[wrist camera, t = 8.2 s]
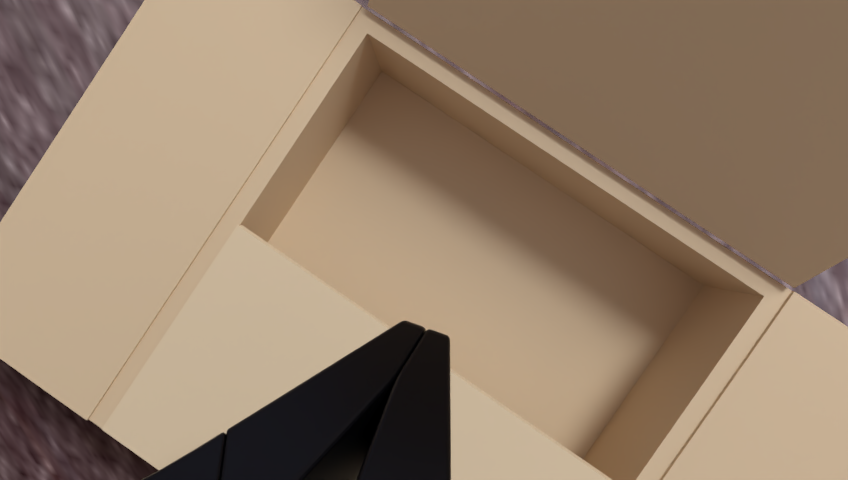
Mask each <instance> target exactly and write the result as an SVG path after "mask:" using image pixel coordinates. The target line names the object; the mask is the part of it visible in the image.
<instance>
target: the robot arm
mask: <svg viewBox="0 0 848 480" xmlns="http://www.w3.org/2000/svg"><path fill="white" fill-rule="evenodd" d="M142 480H451V399H450V338H449V336H448V335H445V334H443V333H440V332H437V331H434V330H431V329H428V330H426V329H425V328H424V327H423V326H420V325H417V324H415V323H412V322H409V321H401V322H399V323H398V324H396V325H395V326H393V327H391V328H390V329H388V330H386V331H385V332H383V333H382V334H380V335H378V336H377V337H375V338H374V339H372V340H370V341H369V342H367V343H366V344H364V345H362V346H361V347H359V348H358V349H356V350H354V351H353V352H351V353H349V354H348V355H346V356H345V357H343V358H341V359H340V360H338V361H337V362H335V363H333V364H332V365H330V366H329V367H327V368H325V369H324V370H322V371H321V372H319V373H317V374H316V375H314V376H312V377H311V378H309V379H308V380H306V381H304V382H303V383H301V384H300V385H298V386H296V387H295V388H293V389H292V390H290V391H288V392H287V393H285V394H284V395H282V396H280V397H279V398H277V399H276V400H274V401H272V402H271V403H269V404H267V405H266V406H264V407H263V408H261V409H259V410H258V411H256V412H255V413H253V414H251V415H250V416H248V417H247V418H245V419H243V420H242V421H240V422H239V423H237V424H235V425H234V426H232V427H230V428H229V429H228V430H227V433H224V432H222V433H220V434H219V435H217V436H216V437H214V438H212V439H211V440H209V441H208V442H206V443H204V444H203V445H201V446H200V447H198V448H196V449H194V450H193V451H191V452H189V453H188V454H186V455H184V456H183V457H181V458H179V459H177V460H176V461H174V462H172V463H171V464H169V465H167V466H166V467H164V468H162V469H160V470H159V471H157V472H155V473H153V474H151V475H149V476H147V477H145V478H143V479H142Z"/></svg>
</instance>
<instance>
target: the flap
mask: <svg viewBox="0 0 848 480" xmlns="http://www.w3.org/2000/svg"><path fill="white" fill-rule="evenodd" d="M368 7H370V8H371V9H373V10H374V11H376V12H377V13H379V14H380V15H382V16H383V17H385V18H386V19H388V20H389V21H391V22H392V23H394V24H395V25H397V26H398V27H400V28H402V29H403V30H405V31H406V32H408V33H409V34H411V35H412V36H414V37H415V38H417V39H418V40H420V41H421V42H423V43H424V44H426V45H427V46H429V47H430V48H432V49H433V50H435V51H436V52H438V53H439V54H441V55H442V56H444V57H445V58H447V59H448V60H450V61H451V62H453V63H454V64H456V65H457V66H459V67H461V68H462V69H464V70H465V71H467V72H468V73H470V74H471V75H473V76H474V77H476V78H477V79H479V80H480V81H482V82H483V83H485V84H486V85H488V86H489V87H491V88H492V89H494V90H495V91H497V92H498V93H500V94H501V95H503V96H504V97H506V98H507V99H509V100H510V101H512V102H513V103H515V104H516V105H518V106H520V107H521V108H523V109H524V110H526V111H527V112H529V113H530V114H532V115H533V116H535V117H536V118H538V119H539V120H541V121H542V122H544V123H545V124H547V125H548V126H550V127H551V128H553V129H554V130H556V131H557V132H559V133H560V134H562V135H563V136H565V137H566V138H568V139H569V140H571V141H572V142H574V143H575V144H577V145H579V146H580V147H582V148H583V149H585V150H586V151H588V152H589V153H591V154H592V155H594V156H595V157H597V158H598V159H600V160H601V161H603V162H604V163H606V164H607V165H609V166H610V167H612V168H613V169H615V170H616V171H618V172H619V173H621V174H622V175H624V176H625V177H627V178H628V179H630V180H631V181H633V182H635V183H636V184H638V185H639V186H641V187H642V188H644V189H645V190H647V191H648V192H650V193H651V194H653V195H654V196H656V197H657V198H659V199H660V200H662V201H663V202H665V203H666V204H668V205H669V206H671V207H672V208H674V209H675V210H677V211H678V212H680V213H681V214H683V215H684V216H686V217H687V218H689V219H690V220H692V221H694V222H695V223H697V224H698V225H700V226H701V227H703V228H704V229H706V230H707V231H709V232H710V233H712V234H713V235H715V236H716V237H718V238H719V239H721V240H722V241H724V242H725V243H727V244H728V245H730V246H731V247H733V248H734V249H736V250H737V251H739V252H740V253H742V254H743V255H745V256H746V257H748V258H749V259H751V260H753V261H754V262H756V263H757V264H759V265H760V266H762V267H763V268H765V269H766V270H768V271H769V272H771V273H772V274H774V275H775V276H777V277H778V278H780V279H781V280H783V281H784V282H786V283H787V284H789V285H790V286H792V287H793V288H795V287H797V286H799V285H800V284H802V283H804V282H806V281H807V280H809V279H811V278H813V277H814V276H816V275H818V274H820V273H822V272H823V271H825V270H827V269H829V268H830V267H832V266H834V265H836V264H837V263H839V262H841V261H843V260H844V259H846V258H848V0H369V3H368Z"/></svg>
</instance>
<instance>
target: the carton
mask: <svg viewBox="0 0 848 480" xmlns="http://www.w3.org/2000/svg"><path fill="white" fill-rule="evenodd" d="M401 321H409V322H412V323H415V324H417V325H420V326H423V327H424V328H425V329H426V330H428V329H431V330H434V331H437V332H440V333H443V334H445V335H448V336H449V338H450V399H451V480H848V327H847V326H846V325H844V324H843V323H841V322H840V321H838V320H837V319H835V318H834V317H832V316H831V315H829V314H828V313H826V312H825V311H823V310H821V309H820V308H818V307H817V306H815V305H814V304H812V303H811V302H809V301H808V300H806V299H805V298H803V297H802V296H800V295H799V294H797V293H796V292H793V291H791V290H789V289H788V288H786V287H785V286H783V285H782V284H780V283H779V282H777V281H776V280H774V279H773V278H771V277H770V276H768V275H767V274H765V273H764V272H762V271H761V270H759V269H758V268H756V267H755V266H753V265H752V264H750V263H749V262H747V261H746V260H744V259H743V258H741V257H740V256H738V255H737V254H735V253H734V252H732V251H731V250H729V249H727V248H726V247H724V246H723V245H721V244H720V243H718V242H717V241H715V240H714V239H712V238H711V237H709V236H708V235H706V234H705V233H703V232H702V231H700V230H699V229H697V228H696V227H694V226H693V225H691V224H690V223H688V222H687V221H685V220H684V219H682V218H681V217H679V216H678V215H676V214H675V213H673V212H672V211H670V210H669V209H667V208H665V207H664V206H662V205H661V204H659V203H658V202H656V201H655V200H653V199H652V198H650V197H649V196H647V195H646V194H644V193H643V192H641V191H640V190H638V189H637V188H635V187H634V186H632V185H631V184H629V183H628V182H626V181H625V180H623V179H622V178H620V177H619V176H617V175H616V174H614V173H613V172H611V171H610V170H608V169H607V168H605V167H603V166H602V165H600V164H599V163H597V162H596V161H594V160H593V159H591V158H590V157H588V156H587V155H585V154H584V153H582V152H581V151H579V150H578V149H576V148H575V147H573V146H572V145H570V144H569V143H567V142H566V141H564V140H563V139H561V138H560V137H558V136H557V135H555V134H554V133H552V132H551V131H549V130H548V129H546V128H545V127H543V126H541V125H540V124H538V123H537V122H535V121H534V120H532V119H531V118H529V117H528V116H526V115H525V114H523V113H522V112H520V111H519V110H517V109H516V108H514V107H513V106H511V105H510V104H508V103H507V102H505V101H504V100H502V99H501V98H499V97H498V96H496V95H495V94H493V93H492V92H490V91H489V90H487V89H486V88H484V87H483V86H481V85H480V84H478V83H476V82H475V81H473V80H472V79H470V78H469V77H467V76H466V75H464V74H463V73H461V72H460V71H458V70H457V69H455V68H454V67H452V66H451V65H449V64H448V63H446V62H445V61H443V60H442V59H440V58H439V57H437V56H436V55H434V54H433V53H431V52H430V51H428V50H427V49H425V48H424V47H422V46H421V45H419V44H418V43H416V42H414V41H413V40H411V39H410V38H408V37H407V36H405V35H404V34H402V33H401V32H399V31H398V30H396V29H395V28H393V27H392V26H390V25H389V24H387V23H386V22H384V21H383V20H381V19H380V18H378V17H377V16H375V15H374V14H372V13H371V12H369V11H368V10H366V9H365V8H363V7H362V5H360V4H359V3H357V2H356V1H354V0H145V1H144V2H143V4H142V5H141V7H140V8H139V10H138V11H137V13H136V14H135V16H134V18H133V19H132V21H131V22H130V24H129V25H128V27H127V28H126V30H125V31H124V33H123V34H122V36H121V38H120V39H119V41H118V42H117V44H116V45H115V47H114V48H113V50H112V51H111V53H110V54H109V56H108V58H107V59H106V61H105V62H104V64H103V65H102V67H101V68H100V70H99V71H98V73H97V74H96V76H95V78H94V79H93V81H92V82H91V84H90V85H89V87H88V88H87V90H86V91H85V93H84V94H83V96H82V98H81V99H80V101H79V102H78V104H77V105H76V107H75V108H74V110H73V111H72V113H71V114H70V116H69V117H68V119H67V121H66V122H65V124H64V125H63V127H62V128H61V130H60V131H59V133H58V134H57V136H56V137H55V139H54V141H53V142H52V144H51V145H50V147H49V148H48V150H47V151H46V153H45V154H44V156H43V157H42V159H41V161H40V162H39V164H38V165H37V167H36V168H35V170H34V171H33V173H32V174H31V176H30V177H29V179H28V181H27V182H26V184H25V185H24V187H23V188H22V190H21V191H20V193H19V194H18V196H17V197H16V199H15V201H14V202H13V204H12V205H11V207H10V208H9V210H8V211H7V213H6V214H5V216H4V217H3V219H2V221H1V222H0V359H1V360H3V361H4V362H5V363H7V364H8V365H10V366H11V367H12V368H14V369H15V370H17V371H18V372H19V373H21V374H22V375H24V376H25V377H26V378H28V379H29V380H31V381H32V382H33V383H35V384H36V385H38V386H39V387H40V388H42V389H43V390H45V391H46V392H47V393H49V394H50V395H52V396H53V397H54V398H56V399H57V400H59V401H60V402H61V403H63V404H64V405H66V406H67V407H68V408H70V409H71V410H73V411H74V412H75V413H77V414H78V415H80V416H81V417H82V418H84V419H85V420H88V419H89V420H90V421H92V422H93V423H95V424H96V425H97V426H99V427H100V428H102V430H103V431H104V432H106V433H107V434H109V435H110V436H111V437H113V438H114V439H116V440H117V441H118V442H120V443H121V444H123V445H124V446H125V447H127V448H128V449H130V450H131V451H132V452H134V453H135V454H137V455H138V456H139V457H141V458H142V459H144V460H145V461H146V462H148V463H149V464H151V465H152V466H153V467H155V468H156V469H158V470H160V469H162V468H164V467H166V466H167V465H169V464H171V463H172V462H174V461H176V460H177V459H179V458H181V457H183V456H184V455H186V454H188V453H189V452H191V451H193V450H194V449H196V448H198V447H200V446H201V445H203V444H204V443H206V442H208V441H209V440H211V439H212V438H214V437H216V436H217V435H219V434H220V433H222V432H224V433H227V430H228V429H229V428H230V427H232V426H234V425H235V424H237V423H239V422H240V421H242V420H243V419H245V418H247V417H248V416H250V415H251V414H253V413H255V412H256V411H258V410H259V409H261V408H263V407H264V406H266V405H267V404H269V403H271V402H272V401H274V400H276V399H277V398H279V397H280V396H282V395H284V394H285V393H287V392H288V391H290V390H292V389H293V388H295V387H296V386H298V385H300V384H301V383H303V382H304V381H306V380H308V379H309V378H311V377H312V376H314V375H316V374H317V373H319V372H321V371H322V370H324V369H325V368H327V367H329V366H330V365H332V364H333V363H335V362H337V361H338V360H340V359H341V358H343V357H345V356H346V355H348V354H349V353H351V352H353V351H354V350H356V349H358V348H359V347H361V346H362V345H364V344H366V343H367V342H369V341H370V340H372V339H374V338H375V337H377V336H378V335H380V334H382V333H383V332H385V331H386V330H388V329H390V328H391V327H393V326H395V325H396V324H398V323H399V322H401Z"/></svg>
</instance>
